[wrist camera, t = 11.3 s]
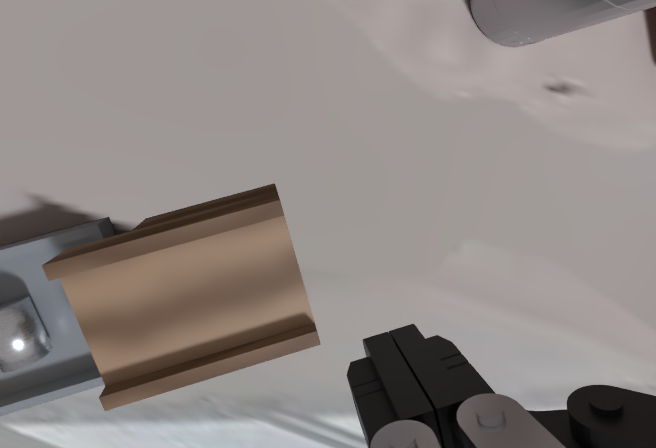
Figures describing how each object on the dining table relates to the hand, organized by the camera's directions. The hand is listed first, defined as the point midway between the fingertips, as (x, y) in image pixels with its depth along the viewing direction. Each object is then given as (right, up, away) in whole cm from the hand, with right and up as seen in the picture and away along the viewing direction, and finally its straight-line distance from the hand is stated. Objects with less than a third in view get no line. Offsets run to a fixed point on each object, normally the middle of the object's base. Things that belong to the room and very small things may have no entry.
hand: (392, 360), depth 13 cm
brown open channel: (-13, 0, +30) cm, 33 cm away
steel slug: (-30, -6, +25) cm, 39 cm away
